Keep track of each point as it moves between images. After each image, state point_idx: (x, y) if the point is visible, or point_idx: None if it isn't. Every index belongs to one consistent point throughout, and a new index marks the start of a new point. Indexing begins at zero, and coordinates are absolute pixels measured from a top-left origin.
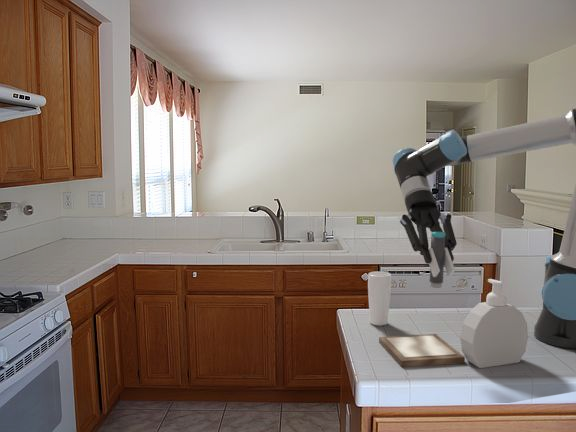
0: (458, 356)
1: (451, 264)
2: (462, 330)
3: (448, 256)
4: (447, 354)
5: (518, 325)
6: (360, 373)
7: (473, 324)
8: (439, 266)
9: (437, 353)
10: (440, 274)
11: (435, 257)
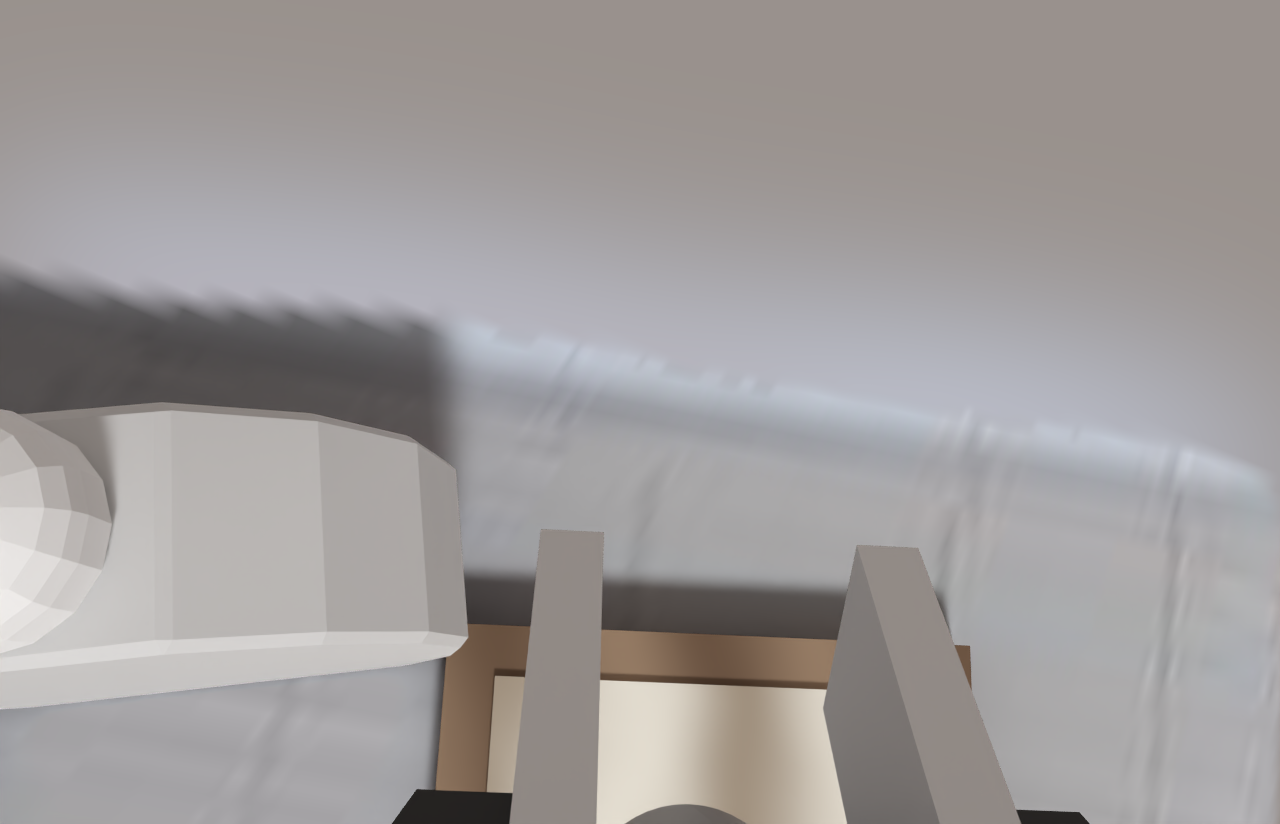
0: (493, 640)
1: (568, 626)
2: (447, 623)
3: (567, 789)
4: None
5: None
6: (1265, 600)
7: (394, 493)
8: None
9: (637, 717)
10: (687, 818)
11: (931, 790)
